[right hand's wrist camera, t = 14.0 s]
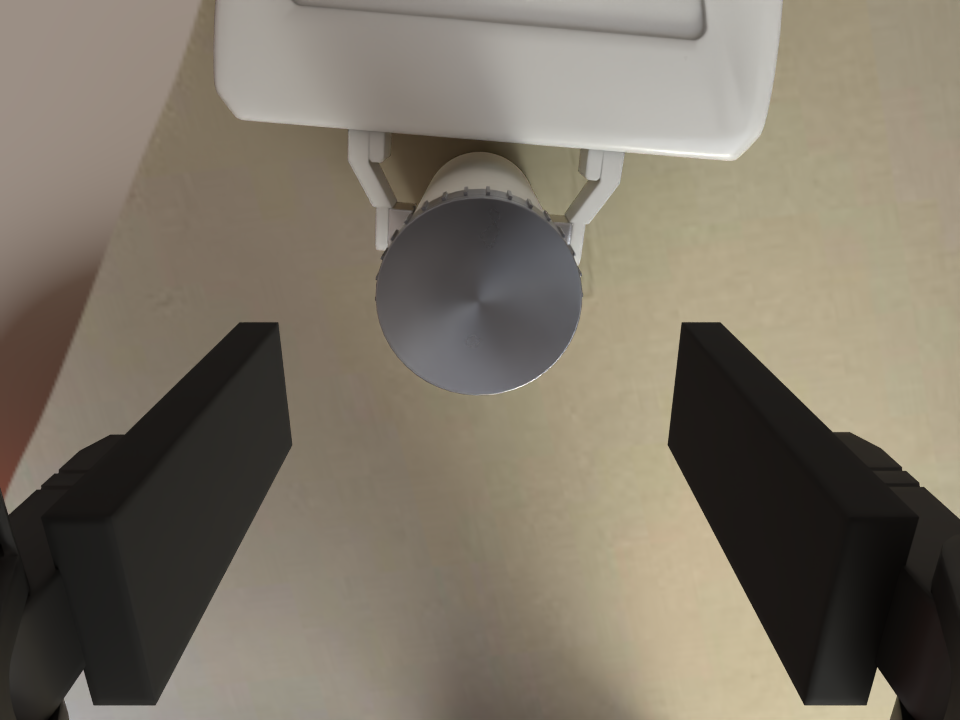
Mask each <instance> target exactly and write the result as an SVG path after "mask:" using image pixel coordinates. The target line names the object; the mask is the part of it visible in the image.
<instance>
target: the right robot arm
mask: <svg viewBox="0 0 960 720" xmlns="http://www.w3.org/2000/svg"><path fill="white" fill-rule="evenodd" d="M291 446H292V438H291V429H290V421H289V412H288V403H287V395H286V386H285V377H284V369H283V360H282V351H281V342H280V334H279V325H278V322H240V323H239V324H238V325H237V326H236V327H235V328H233V329H232V330H231V331H230V332H229V333H228V334H227V335H226V336H225V337H224V338H223V339H222V340H221V341H220V342H219V343H218V344H217V345H216V346H215V347H214V348H213V349H212V350H211V351H210V352H209V353H208V354H207V355H206V356H205V357H204V358H203V359H202V360H201V361H200V362H199V363H198V364H197V365H196V366H195V367H194V368H193V369H192V370H191V371H190V372H188V373H187V374H186V375H185V376H184V377H183V378H182V379H181V380H180V381H179V382H178V383H177V384H176V385H175V386H174V387H173V388H172V389H171V390H170V391H169V392H168V393H167V394H166V395H165V396H164V397H163V398H162V399H161V400H160V401H159V402H158V403H157V404H156V405H155V406H154V407H153V408H152V409H151V410H150V411H149V412H148V413H147V414H146V415H144V416H143V417H142V418H141V419H140V420H139V421H138V422H137V423H136V424H135V425H134V426H133V427H132V428H131V429H130V430H129V431H128V432H127V433H126V434H125V435H109V436H107V437H105V438H103V439H101V440H99V441H97V442H96V443H94V444H92V445H90V446H88V447H86V448H84V449H82V450H80V451H79V452H78V453H77V454H76V455H74V456H73V457H72V458H71V459H70V460H69V461H68V462H67V463H66V464H65V465H63V466H62V467H61V468H60V469H59V473H58V474H54V475H52V476H51V477H50V478H49V479H48V480H47V481H46V482H45V483H44V484H42V485H41V490H36V491H35V492H34V493H33V494H31V495H30V496H29V497H28V498H27V499H26V500H25V501H24V502H23V503H22V504H20V505H19V506H18V507H17V508H16V509H15V510H14V511H13V512H12V513H11V514H9V515H8V512H7V509H6V506H5V502H4V499H3V496H2V492H1V489H0V720H69V716H68V711H67V708H66V705H65V701H64V697H65V696H66V694H67V693H68V691H69V690H70V688H71V687H72V685H73V684H74V682H75V681H76V680H77V678H78V677H79V675H80V674H81V672H82V671H83V669H84V673H85V677H86V680H87V684H88V687H89V691H90V694H91V698H92V702H93V705H156V703H157V701H158V700H159V698H160V696H161V694H162V692H163V690H164V688H165V686H166V684H167V682H168V681H169V679H170V677H171V675H172V673H173V671H174V669H175V667H176V665H177V663H178V662H179V660H180V658H181V656H182V654H183V652H184V650H185V648H186V646H187V644H188V642H189V641H190V639H191V637H192V635H193V633H194V631H195V629H196V627H197V625H198V623H199V622H200V620H201V618H202V616H203V614H204V612H205V610H206V608H207V606H208V604H209V602H210V601H211V599H212V597H213V595H214V593H215V591H216V589H217V587H218V585H219V583H220V582H221V580H222V578H223V576H224V574H225V572H226V570H227V568H228V566H229V564H230V563H231V561H232V559H233V557H234V555H235V553H236V551H237V549H238V547H239V545H240V543H241V542H242V540H243V538H244V536H245V534H246V532H247V530H248V528H249V526H250V524H251V523H252V521H253V519H254V517H255V515H256V513H257V511H258V509H259V507H260V505H261V503H262V502H263V500H264V498H265V496H266V494H267V492H268V490H269V488H270V486H271V484H272V483H273V481H274V479H275V477H276V475H277V473H278V471H279V469H280V467H281V465H282V464H283V462H284V460H285V458H286V456H287V454H288V452H289V450H290V448H291ZM668 446H669V448H670V450H671V452H672V454H673V456H674V458H675V460H676V462H677V464H678V465H679V467H680V469H681V471H682V473H683V475H684V477H685V479H686V481H687V483H688V484H689V486H690V488H691V490H692V492H693V494H694V496H695V498H696V500H697V502H698V503H699V505H700V507H701V509H702V511H703V513H704V515H705V517H706V519H707V521H708V523H709V524H710V526H711V528H712V530H713V532H714V534H715V536H716V538H717V540H718V542H719V543H720V545H721V547H722V549H723V551H724V553H725V555H726V557H727V559H728V561H729V563H730V564H731V566H732V568H733V570H734V572H735V574H736V576H737V578H738V580H739V582H740V583H741V585H742V587H743V589H744V591H745V593H746V595H747V597H748V599H749V601H750V602H751V604H752V606H753V608H754V610H755V612H756V614H757V616H758V618H759V620H760V622H761V623H762V625H763V627H764V629H765V631H766V633H767V635H768V637H769V639H770V641H771V642H772V644H773V646H774V648H775V650H776V652H777V654H778V656H779V658H780V660H781V662H782V663H783V665H784V667H785V669H786V671H787V673H788V675H789V677H790V679H791V681H792V682H793V684H794V686H795V688H796V690H797V692H798V694H799V696H800V698H801V700H802V701H803V703H804V705H867V702H868V698H869V694H870V691H871V687H872V684H873V680H874V677H875V673H876V669H877V667H878V669H879V670H880V671H881V673H882V674H883V676H884V677H885V679H886V680H887V682H888V683H889V685H890V686H891V687H892V689H893V690H894V692H895V693H896V695H897V698H896V701H895V705H894V708H893V711H892V715H891V718H890V720H960V519H959V518H958V517H957V516H956V515H954V514H953V513H952V512H951V511H950V510H949V509H948V508H947V507H946V506H944V505H943V504H942V503H941V502H940V501H939V500H938V499H937V498H936V497H934V496H933V495H932V494H931V493H930V492H929V491H928V490H927V489H926V488H924V487H920V486H919V482H918V481H917V480H916V479H914V478H913V477H912V476H911V475H910V474H909V473H908V472H907V471H902V467H901V466H900V465H899V464H898V463H897V462H896V461H894V460H893V459H892V458H891V457H890V456H889V455H888V454H887V453H886V452H884V451H883V450H882V449H881V448H879V447H877V446H875V445H873V444H872V443H870V442H868V441H866V440H864V439H862V438H860V437H858V436H856V435H854V434H852V433H850V432H832V431H831V430H830V429H829V428H828V427H827V426H826V425H825V424H824V423H823V422H822V421H821V420H820V419H819V418H818V417H817V416H816V415H814V414H813V413H812V412H811V411H810V410H809V409H808V408H807V407H806V406H805V405H804V404H803V403H802V402H801V401H800V400H799V399H798V398H797V397H796V396H795V395H794V394H793V393H792V392H791V391H790V390H789V389H788V388H787V387H786V386H785V385H784V384H783V383H782V382H781V381H780V380H779V379H778V378H777V377H776V376H775V375H774V374H773V373H772V372H770V371H769V370H768V369H767V368H766V367H765V366H764V365H763V364H762V363H761V362H760V361H759V360H758V359H757V358H756V357H755V356H754V355H753V354H752V353H751V352H750V351H749V350H748V349H747V348H746V347H745V346H744V345H743V344H742V343H741V342H740V341H739V340H738V339H737V338H736V337H735V336H734V335H733V334H732V333H731V332H730V331H729V330H728V329H727V328H725V327H724V326H723V325H722V324H721V323H720V322H682V325H681V334H680V342H679V351H678V360H677V369H676V377H675V386H674V395H673V403H672V412H671V421H670V429H669V438H668Z"/></svg>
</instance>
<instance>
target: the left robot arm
mask: <svg viewBox="0 0 960 720" xmlns="http://www.w3.org/2000/svg"><path fill="white" fill-rule="evenodd" d="M782 5H783V0H216V3H215V19H214V83H215V88H216V91H217V93H218V95H219V96H220V97H221V99H222V100H223V101H224V103H225V104H226V105H227V107H228V108H229V109H230V111H231V112H232V113H233V114H234V116H235V117H237V118H238V119H240V120H247V121H258V122H270V123H282V124H294V125H306V126H318V127H330V128H342V129H348V162H349V164H350V165H351V167H352V169H353V171H354V173H355V175H356V177H357V178H358V180H359V182H360V184H361V186H362V188H363V190H364V191H365V193H366V195H367V197H368V199H369V201H370V203H371V204H372V206H373V207H376V229H375V246H376V250H382V251H385V249H386V248H389V246H390V244H391V243H392V241H391V240H390V239H391V237H392V235H393V234H394V232H395V230H396V229H397V230H400V228H401V227H402V225H403V224H404V221H405V219H406V218H407V216H408V215H409V214H410V213H411V214H412V215H413V214H414V212H415V210H416V204H413V203H404V202H397V199H396V197H395V195H394V193H393V191H392V189H391V187H390V185H389V183H388V181H387V179H386V177H385V175H384V173H383V171H382V169H381V167H380V165H379V163H381V162H383V161H384V160H385V159H387V158H388V157H389V156H390V155H391V133H401V134H413V135H425V136H437V137H449V138H461V139H473V140H485V141H497V142H509V143H521V144H533V145H545V146H557V147H569V148H581V150H580V158H579V167H578V171H579V172H580V174H581V175H583V176H584V177H585V178H586V179H587V180H588V181H587V183H586V184H585V186H584V187H583V188H582V190H581V191H580V193H579V194H578V196H577V197H576V198H575V200H574V201H573V203H572V204H571V205H570V207H569V208H568V210H567V211H566V213H565V215H550V214H549V216H550V218H551V221H552V222H553V223H554V224H555V226H556V227H559V226H560V227H561V229H562V231H563V232H564V234H565V236H566V237H564V239H565V241H566V243H567V245H568V244H570V245H571V247H572V248H573V250H574V252H575V254H576V256H574V259H575V261H576V263H577V266H578V265H579V263H580V259H581V253H582V245H583V238H584V231H585V224H589V223H590V222H591V220H592V219H593V218H594V216H595V215H596V214H597V213H598V211H599V210H600V209H601V207H602V206H603V205H604V203H605V202H606V201H607V200H608V198H609V197H610V196H611V194H612V193H613V192H614V190H615V189H616V188H617V186H618V185H619V184H620V179H621V173H622V167H623V160H624V154H625V152H629V153H641V154H653V155H665V156H677V157H689V158H701V159H713V160H725V161H733V160H736V159H737V158H739V157H740V156H741V155H742V154H743V153H744V152H745V151H746V150H747V149H748V148H749V147H750V146H751V145H752V144H753V143H754V142H755V141H756V140H757V139H758V138H759V136H760V135H761V133H762V131H763V128H764V125H765V121H766V117H767V113H768V108H769V104H770V99H771V93H772V88H773V82H774V76H775V69H776V63H777V55H778V47H779V39H780V29H781V17H782Z"/></svg>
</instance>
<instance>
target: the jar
mask: <svg viewBox="0 0 960 720" xmlns="http://www.w3.org/2000/svg"><path fill="white" fill-rule="evenodd" d="M467 186H468V189H486V186H490V190H498V191H502V192H506V193H507V190H509V191H511V193H512V195H515V196H517V197H520V198H522V199H524V200H527V198H528V199H530V200H531V202H532V204H533V205H534V206H535V207H537V208H538V209H539V210H541V211H542V212H544V211H543V209H542V207H541V205H540V203H539V201H538V199H537V197H536V195H535V193H534V191H533V189H532V187H531V185H530V183H529V182H528V180H527V178H526V176H525V175H524V174H523V173H522V171H521V170H520V169H519V168H518V167H517V166H516V165H515V164H513V163H512V162H511V161H509V160H507V159H506V158H504V157H502V156H499V155H497V154H493V153H488V152H471V153H466V154H463V155H460V156H458V157H455V158H453V159H452V160H450V161H449V162H447V163H446V164H445V165H443V166H442V167H441V168H440V169H439V170H438V172H437V173H436V174H435V175H434V177H433V178H432V180H431V182H430V184H429V186H428V188H427V189H426V191H425V193H424V195H423V197H422V199H421V201H420V203H419V205H418V206H417V208H416V210H415V212H416V211H417V210H419V209H420V208H421V207H422V205H423V203H424V202H425V201H426V200H427V201H428V202H430V201H432V200H434V199H436V198H439V197H441V196H442V195H443V192H446V191H447V193H448V194H449V193H452V192H456V191H461V190H464V187H467ZM415 212H414V213H415Z"/></svg>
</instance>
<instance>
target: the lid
mask: <svg viewBox="0 0 960 720" xmlns="http://www.w3.org/2000/svg"><path fill="white" fill-rule="evenodd" d="M564 237H566V236H565V234H564V232H563V231H562V229H561V227H560V226H559V227H556V226H555V224H554V223H553V222H552V221H551V218H550V216H549V214H548V212H546V211H544V212H542V211H541V210H539V209H538V208H537V207H535V206H534V205H533V204H532V202H531V200H530V199H528V198H527V200H524V199H522V198H520V197H517V196H515V195H512V193H511V191H509V190H507V193H506V192H502V191H498V190H490V186H486V189H468V186H467V187H464V190H461V191H456V192H452V193H449V194H448V193H447V191H446V192H443V195H442V196H441V197H439V198H436V199H434V200H432V201H430V202H428V201H427V200H426V201H425V202H424V203H423V205H422V207H421V208H420V209H419V210H417V211H416V212H415V213H414V214H413V215H412V214H411V213H410V214H409V215H408V216H407V218H406V219H405V221H404V224H403V225H402V227H401V228H400V230H397V229H396V230H395V232H394V234H393V235H392V237H391V239H390V240H391V241H392V243H391V244H390V246H389V248H386V249H385V251H384V253H383V255H382V256H381V260H382V264H381V267H380V270H379V272H378V274H377V276H376V280H377V284H376V297H375V301H376V307H377V314H378V318H379V322H380V325H381V328H382V331H383V333H384V336H385V338H386V340H387V342H388V343H389V345H390V347H391V348H392V350H393V351H394V353H395V354H396V355H397V357H398V358H399V359H400V360H401V361H402V362H403V363H404V365H405V366H406V367H407V368H409V369H410V370H411V371H412V372H413V373H415V374H416V375H417V376H419V377H420V378H422V379H423V380H425V381H427V382H429V383H431V384H433V385H435V386H437V387H439V388H442V389H445V390H448V391H451V392H455V393H460V394H467V395H491V394H498V393H503V392H507V391H510V390H514V389H516V388H519V387H521V386H524V385H526V384H528V383H529V382H531V381H533V380H535V379H537V378H538V377H539V376H541V375H542V374H543V373H545V372H546V371H547V370H548V369H549V368H550V367H552V366H553V365H554V364H555V363H556V362H557V360H558V359H559V358H560V357H561V356H562V354H563V353H564V352H565V350H566V348H567V347H568V345H569V344H570V342H571V340H572V338H573V336H574V333H575V331H576V329H577V325H578V322H579V319H580V314H581V307H582V297H583V293H582V285H581V278H580V276H582V274H581V271H580V270H579V268H578V266H577V263H576V261H575V259H574V256H576V254H575V252H574V250H573V248H572V247H571V245H570V244H568V245H567V243H566V241H565V239H564Z"/></svg>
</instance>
